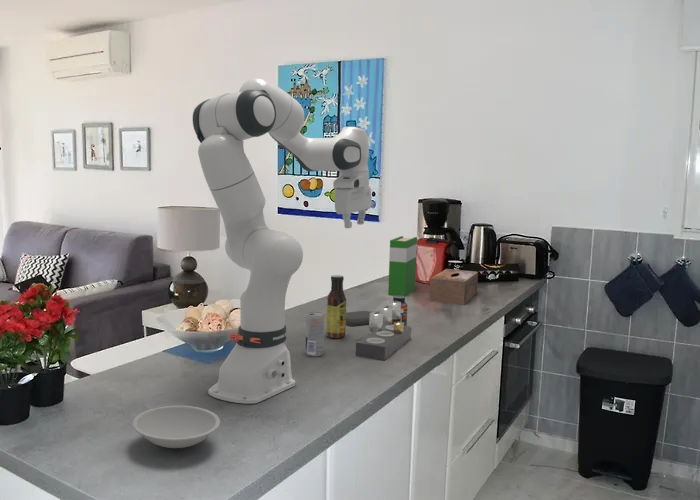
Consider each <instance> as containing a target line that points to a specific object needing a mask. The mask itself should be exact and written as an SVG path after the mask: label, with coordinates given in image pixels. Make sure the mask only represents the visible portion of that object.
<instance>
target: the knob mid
mask: <svg viewBox="0 0 700 500" xmlns="http://www.w3.org/2000/svg"><path fill="white" fill-rule="evenodd" d="M378 311H379V312H381V313H383V325H385V326H387V325H392V307H389V306H388V305H386V306H385V305H383V306H379V308H378Z"/></svg>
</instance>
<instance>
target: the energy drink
mask: <svg viewBox="0 0 700 500" xmlns="http://www.w3.org/2000/svg"><path fill="white" fill-rule="evenodd" d="M324 343H325V314H324V313H323V312H321V311H311V312H310V311H309V312H306V315H305V347H304V349H305V354H306V356H309V357H320V356H322V355H323V354H324V351H325V350H324V347H325V345H324Z"/></svg>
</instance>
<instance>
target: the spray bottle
mask: <svg viewBox="0 0 700 500" xmlns="http://www.w3.org/2000/svg"><path fill="white" fill-rule="evenodd" d="M371 312H372V311H369V310H359V311H349V312H348V311H347V312H346V327H358V326H359V327H360V326H367V325H368V326H369V313H371Z"/></svg>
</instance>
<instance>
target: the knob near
mask: <svg viewBox="0 0 700 500" xmlns="http://www.w3.org/2000/svg"><path fill="white" fill-rule="evenodd" d="M370 312H371V313H369V324H368V331H369V332H370V333H371V332H381V331H383V313H381V312H379V310H378V311H370Z"/></svg>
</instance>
